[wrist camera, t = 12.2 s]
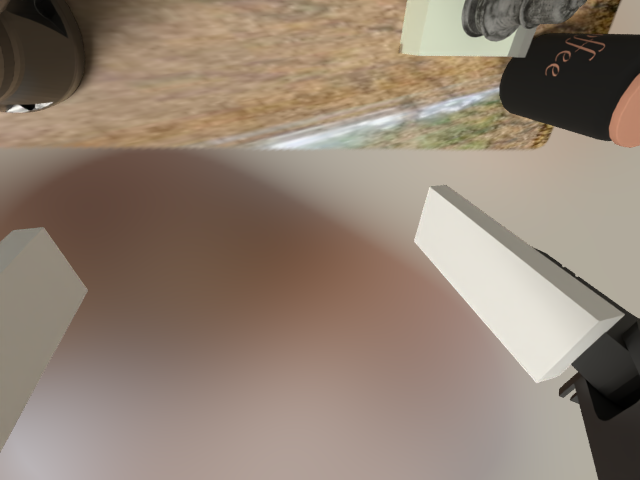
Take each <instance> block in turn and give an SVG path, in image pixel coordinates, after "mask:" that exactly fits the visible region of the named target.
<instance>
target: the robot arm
mask: <svg viewBox="0 0 640 480" xmlns="http://www.w3.org/2000/svg"><path fill="white" fill-rule="evenodd" d="M84 65H85V54H84V46H83V41H82V37H81V34H80V31H79V28H78V25H77V23H76V21H75V18H74V16H73V14H72V12H71V10H70V8H69V7H68V5H67V3H66V2H65V0H0V112H10V113H27V112H35V111H40V110H44V109H47V108H49V107H51V106H54V105H56V104H58V103H60V102H62V101H64V100H66V99H67V98H68V97H69V96H71V95H72V94H73V93H74V91H75V90H76V89H77V87H78V86H79V84H80V82H81V79H82V76H83V72H84ZM414 241H415V243H416V244H417V245H418V246H419V247H420V249H421V250H422V251H423V252H424V253H425V255H426V256H427V257H428V258H429V259H430V260H431V261H432V263H433V264H434V265H435V266H436V267H437V268H438V270H439V271H440V272H441V273H442V274H443V275H444V277H446V279H447V280H448V281H449V282H450V283H451V285H452V286H453V287H454V288H455V289H456V290H457V291H458V293H459V294H460V295H461V296H462V297H463V299H464V300H465V301H466V302H467V303H468V304H469V305H470V306H471V308H472V309H473V310H474V311H475V312H476V314H477V315H478V316H479V317H480V318H481V319H482V321H483V322H484V323H485V324H486V325H487V326H488V327H489V329H490V330H491V331H492V332H493V333H494V334H495V336H496V337H497V338H498V339H499V340H500V341H501V342H502V344H503V345H504V346H505V347H506V348H507V349H508V351H509V352H510V353H511V354H512V355H513V356H514V358H515V359H516V360H517V361H518V362H519V363H520V365H521V366H522V367H523V368H524V369H525V370H526V371H527V373H528V374H529V375H530V376H531V377H532V378H533V380H534V381H535V382H536V383H538V382H542V381H545V380H548V379H551V378H555V377H558V376H559V375H560V374H561V373H563V371H565V370H566V369H567V368H568V367H569V366H570V365H572V366H573V367H574V368H575V369H576V370H577V371H578V373H576V374H575V375H574V376H573V377H572V378H571V379H570V380H569V381H567V382H566V383H565V384H564V385H563V386H562V387H561V388H560V389H559V396H560V397H563V398H564V397H565V396H566V395H567V394H569V393H570V392H571V391H572V390H574V389H576V393H575V394H574V395H573V396H572V397H571V399H570V400H571V401H573V402H576V403H578V404H580V409H581V412H582V416H583V420H584V424H585V428H586V432H587V436H588V440H589V444H590V448H591V452H592V456H593V460H594V464H595V468H596V472H597V476H598V480H640V319H639V318H637V317H635V316H634V315H632V314H631V313H629V312H628V311H626V310H625V309H623V308H622V307H620V306H619V305H618V304H616V303H615V302H613V301H612V300H611V299H609V298H608V297H607V296H605V295H604V294H602V293H601V292H599V291H598V290H597V289H595V288H594V287H593V286H591V285H590V284H588V283H587V282H585V281H584V280H583V279H581V278H580V277H576V276H575V274H574V273H573V272H572V271H570V270H569V269H567V268H566V267H562V265H561V264H560V263H559V262H557V261H556V260H555V259H553V258H552V257H550V256H549V255H548V254H546V253H544V252H542V251H540V250H537V249H535V248H533V247H531V246H530V245H528V244H527V243H526V242H524V241H523V240H521V239H520V238H519V237H517V236H516V235H515V234H513V233H512V232H511V231H509V230H508V229H506V228H505V227H504V226H502V225H501V224H499V223H498V222H496V221H495V220H494V219H493V218H491V217H490V216H488V215H487V214H486V213H484V212H483V211H482V210H480V209H479V208H477V207H476V206H475V205H473V204H472V203H471V202H469V201H468V200H466V199H465V198H464V197H462V196H461V195H459V194H458V193H457V192H455V191H454V190H452V189H451V188H450V187H448V186H447V185H441V186H431V187H429V191H428V194H427V198H426V201H425V205H424V208H423V212H422V216H421V219H420V222H419V226H418V229H417V233H416V236H415V240H414ZM86 293H87V289H86V287H85V286H84V284H83V283H82V281H81V280H80V279H79V277H78V276H77V274H76V273H75V271H74V270H73V269H72V267H71V266H70V264H69V263H68V261H67V260H66V259H65V257H64V256H63V254H62V253H61V252H60V250H59V249H58V247H57V246H56V244H55V243H54V241H53V240H52V239H51V237H50V236H49V234H48V233H47V232H46V230H45V229H44V228H43V227H41V228H32V229H22V230H13V231H12V232H11V233H10V234H9V235H7V236H6V237H5V238H4V239H3V240H2V241H1V242H0V452H1V450H2V448H3V446H4V445H5V443H6V441H7V439H8V437H9V435H10V434H11V432H12V430H13V428H14V426H15V424H16V422H17V420H18V419H19V417H20V415H21V413H22V411H23V409H24V408H25V406H26V404H27V402H28V400H29V398H30V396H31V394H32V393H33V391H34V389H35V387H36V385H37V383H38V382H39V380H40V378H41V376H42V374H43V372H44V370H45V369H46V367H47V365H48V363H49V361H50V359H51V358H52V356H53V354H54V352H55V350H56V348H57V347H58V344H59V343H60V341H61V339H62V337H63V335H64V333H65V332H66V330H67V328H68V326H69V324H70V322H71V321H72V319H73V317H74V315H75V313H76V311H77V310H78V308H79V306H80V304H81V302H82V300H83V298H84V296H85V295H86Z"/></svg>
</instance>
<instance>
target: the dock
mask: <svg viewBox="0 0 640 480" xmlns="http://www.w3.org/2000/svg"><path fill="white" fill-rule="evenodd" d="M464 3H465V0H407V5H406V11H405V17H404V24H403V30H402V36H401V42H400V48H399V53H404V54H411V55H418V56H508V57H525V56H526V54H527V51H528V49H529V46H530V44H531V41H532V39H533V36H534V33H535V31H536V28H537V26H536V27H535V28H532V29H525V28H524V27H522V25H520V26H519V27H518V28H517V30H516V31H515V32H514V33H512V34H511V35H510V36H509V37H507V38H506V39H504V40H501V41H497V42H495V41H490V40H488V39H486V38H485V36H484V35H483V36H480V37H477V38H476V37H470V36H468V35H467V34H466V33H465V31H464V30H463V27H462V20H461V17H462V9H463V6H464Z"/></svg>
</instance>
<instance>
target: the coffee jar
mask: <svg viewBox="0 0 640 480" xmlns="http://www.w3.org/2000/svg"><path fill="white" fill-rule="evenodd" d="M500 99H501V101H502V104H503V107H504V108H505V109H506V110H507V111H509V112H510V113H512V114H516V115H519V116H522V117H526V118H529V119H532V120H536V121H539V122H542V123H546V124H549V125H552V126H555V127H559V128H562V129H566V130H569V131H572V132H575V133H579V134H582V135H585V136H589V137H592V138H595V139H599V140H604V141H613V142H614V143H615V144H617V145H619V146H623V147H629V148H631V147H635V146H639V145H640V35H632V34H631V35H630V34H570V33H551V34H545V35H541V36H539V37H537V38H536V39H534V40H532V41H531V44H530V46H529V49H528V51H527V54H526V56H525V57H513V58H512V59H511V61H510V62H509V63H508V65H507V67H506V69H505V71H504V73H503V75H502V79H501V83H500Z"/></svg>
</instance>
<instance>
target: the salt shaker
mask: <svg viewBox="0 0 640 480" xmlns="http://www.w3.org/2000/svg"><path fill="white" fill-rule="evenodd" d="M586 1H587V0H465V3H464V6H463V9H462V17H461V20H462V27H463V30H464V31H465V33H466V34H467V35H468V36H470V37H476V38H477V37H480V36H483V35H484V36H485V38H486V39H488V40H490V41H495V42H497V41H501V40H504V39H506V38H507V37H509V36H510V35H511V34H512V33H514V32H515V31H516V30H517V28H518V27H519V26H520V25H522V27H524V28H525V29H532V28H535V27H536V26H538V25H539V24H558V23H562V22H564V21H566V20H568V19H569V18H570V17H571V16H572V15H574V13H575V12H576V11H577V10H578V8H579V7H581V6H582V5H583V4H584V3H585V2H586Z"/></svg>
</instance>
